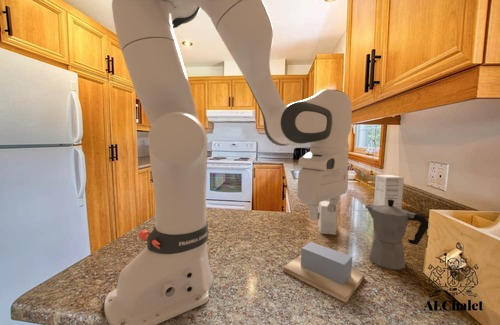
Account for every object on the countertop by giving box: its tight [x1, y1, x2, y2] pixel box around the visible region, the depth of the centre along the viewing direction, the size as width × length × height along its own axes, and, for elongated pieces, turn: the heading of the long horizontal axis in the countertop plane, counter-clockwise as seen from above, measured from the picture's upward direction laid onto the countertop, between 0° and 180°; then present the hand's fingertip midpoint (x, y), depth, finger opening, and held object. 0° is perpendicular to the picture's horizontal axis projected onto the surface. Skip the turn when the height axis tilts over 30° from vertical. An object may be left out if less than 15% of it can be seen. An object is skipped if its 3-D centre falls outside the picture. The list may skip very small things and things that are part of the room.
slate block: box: [300, 241, 353, 285], centre depth 55 cm, size 5×5×11 cm
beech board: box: [282, 254, 365, 303], centre depth 56 cm, size 12×16×1 cm
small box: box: [317, 200, 338, 236], centre depth 84 cm, size 8×6×10 cm
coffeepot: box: [365, 199, 430, 271], centre depth 61 cm, size 15×9×18 cm, turn 39°
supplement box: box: [373, 174, 405, 209], centre depth 115 cm, size 10×9×17 cm
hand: (323, 215), depth 55 cm, fingers open, 8 cm apart
